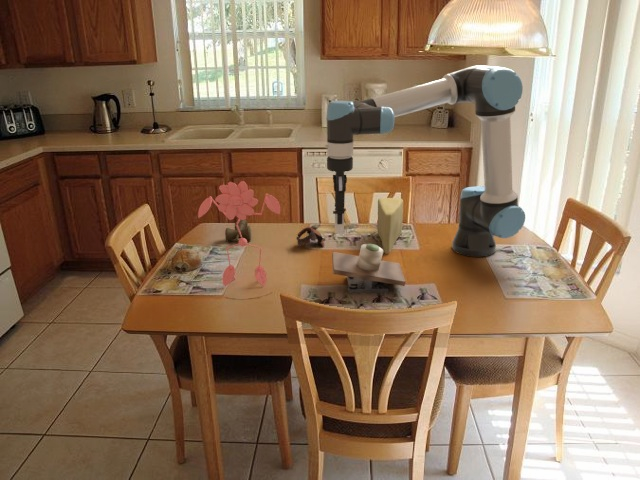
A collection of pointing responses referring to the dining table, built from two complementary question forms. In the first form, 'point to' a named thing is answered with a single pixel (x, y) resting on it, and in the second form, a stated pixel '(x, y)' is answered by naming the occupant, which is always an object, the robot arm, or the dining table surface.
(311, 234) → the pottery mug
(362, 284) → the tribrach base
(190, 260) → the bread roll
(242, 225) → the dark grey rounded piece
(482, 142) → the robot arm
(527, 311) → the dining table surface
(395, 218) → the cheese
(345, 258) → the panel with push button
